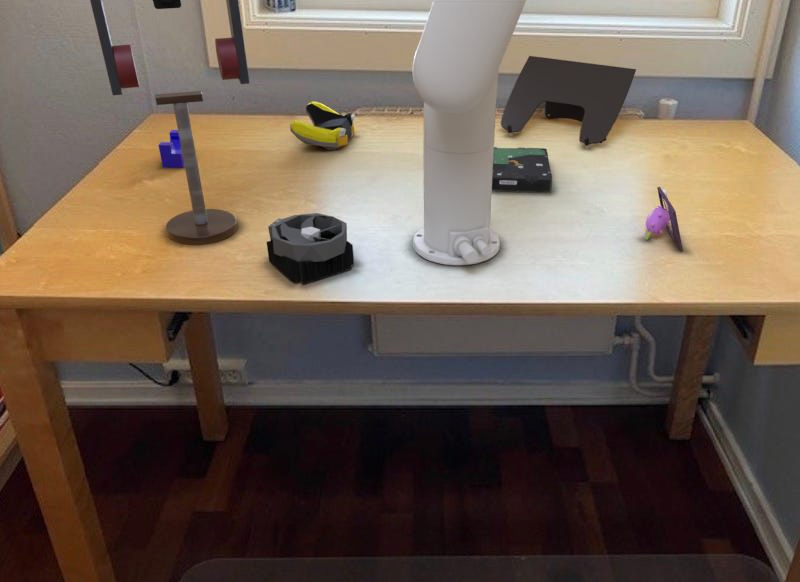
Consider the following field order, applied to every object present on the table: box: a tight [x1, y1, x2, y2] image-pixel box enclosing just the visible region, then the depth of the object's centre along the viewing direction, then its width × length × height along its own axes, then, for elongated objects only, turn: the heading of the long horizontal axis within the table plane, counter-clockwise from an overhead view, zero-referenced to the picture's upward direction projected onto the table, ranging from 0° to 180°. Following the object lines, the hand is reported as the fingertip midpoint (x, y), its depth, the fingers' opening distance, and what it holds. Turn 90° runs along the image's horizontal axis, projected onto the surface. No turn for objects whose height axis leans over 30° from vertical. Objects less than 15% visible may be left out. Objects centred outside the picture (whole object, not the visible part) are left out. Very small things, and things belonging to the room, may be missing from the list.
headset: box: [89, 0, 251, 96], centre depth 101 cm, size 5×17×14 cm, turn 111°
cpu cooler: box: [266, 212, 355, 285], centre depth 106 cm, size 10×6×10 cm
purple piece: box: [644, 186, 684, 252], centre depth 116 cm, size 7×5×9 cm
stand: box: [154, 90, 238, 246], centre depth 111 cm, size 10×10×20 cm
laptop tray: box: [500, 55, 637, 150], centre depth 158 cm, size 23×23×9 cm
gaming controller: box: [289, 101, 356, 151], centre depth 148 cm, size 15×6×10 cm
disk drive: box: [492, 146, 553, 193], centre depth 136 cm, size 10×3×15 cm
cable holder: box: [158, 129, 185, 169], centre depth 139 cm, size 8×4×4 cm, turn 1°
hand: (166, 3), depth 99 cm, fingers closed on headset, 3 cm apart
